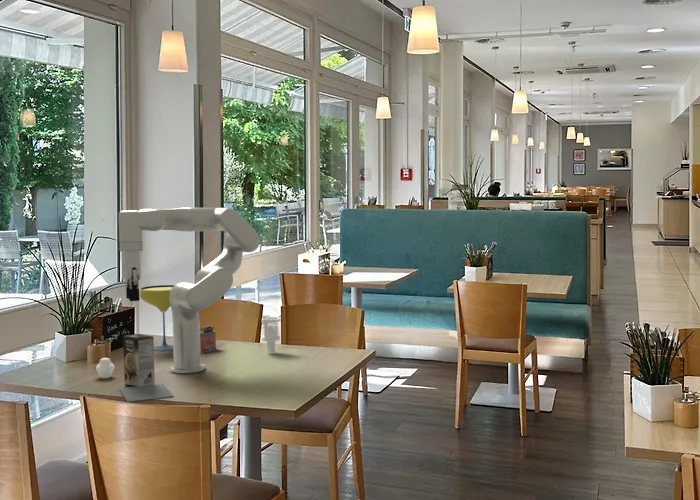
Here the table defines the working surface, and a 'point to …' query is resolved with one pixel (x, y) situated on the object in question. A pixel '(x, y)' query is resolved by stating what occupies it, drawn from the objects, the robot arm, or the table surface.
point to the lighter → (207, 339)
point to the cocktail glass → (158, 306)
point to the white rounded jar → (105, 368)
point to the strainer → (270, 332)
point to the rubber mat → (146, 393)
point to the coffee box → (138, 360)
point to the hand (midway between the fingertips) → (132, 299)
